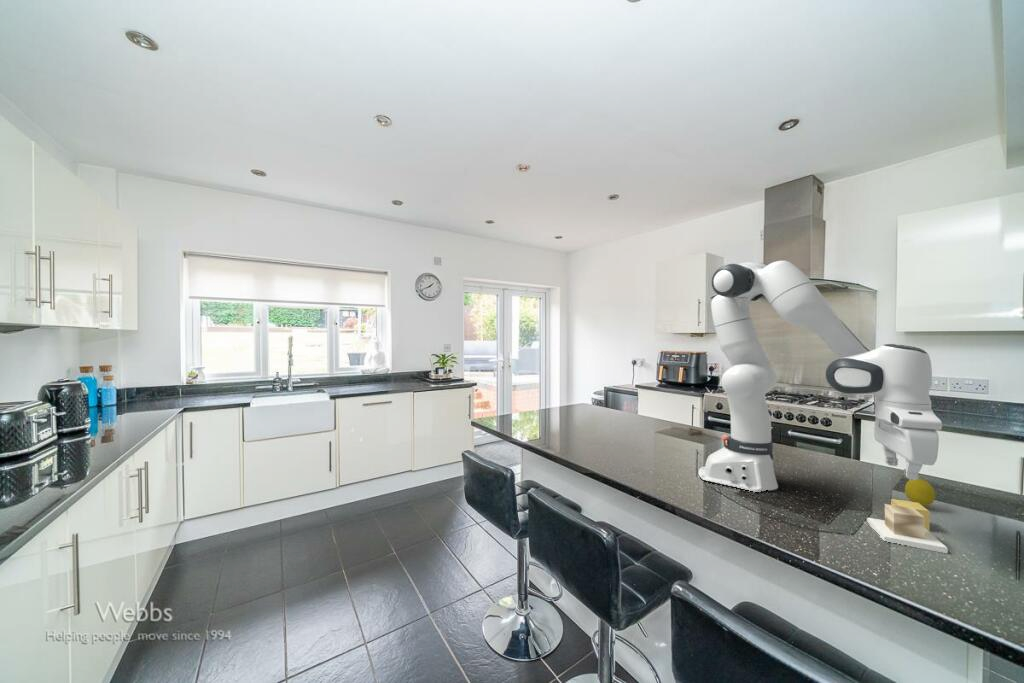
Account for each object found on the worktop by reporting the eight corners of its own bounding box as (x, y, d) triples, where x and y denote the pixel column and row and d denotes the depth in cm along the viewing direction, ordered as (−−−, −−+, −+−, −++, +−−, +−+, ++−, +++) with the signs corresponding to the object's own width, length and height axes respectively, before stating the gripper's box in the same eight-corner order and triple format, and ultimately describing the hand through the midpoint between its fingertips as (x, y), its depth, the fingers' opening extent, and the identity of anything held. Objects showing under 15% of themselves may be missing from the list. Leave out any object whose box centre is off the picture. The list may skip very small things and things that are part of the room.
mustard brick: (900, 526, 89) (900, 506, 89) (891, 518, 93) (891, 498, 93) (929, 531, 87) (929, 511, 87) (918, 522, 91) (918, 502, 91)
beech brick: (894, 533, 84) (893, 512, 84) (884, 524, 88) (884, 503, 88) (924, 539, 81) (924, 517, 81) (913, 529, 86) (913, 508, 85)
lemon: (941, 512, 96) (941, 482, 96) (916, 510, 97) (916, 481, 97) (922, 503, 101) (922, 474, 101) (899, 501, 102) (898, 473, 102)
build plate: (884, 541, 82) (884, 536, 82) (867, 522, 91) (866, 517, 91) (947, 553, 78) (947, 547, 78) (922, 531, 87) (922, 526, 87)
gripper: (866, 404, 95) (865, 456, 96) (904, 420, 77) (903, 484, 78) (899, 406, 92) (898, 460, 93) (947, 424, 74) (945, 490, 75)
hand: (900, 471), depth 85 cm, fingers open, 8 cm apart
